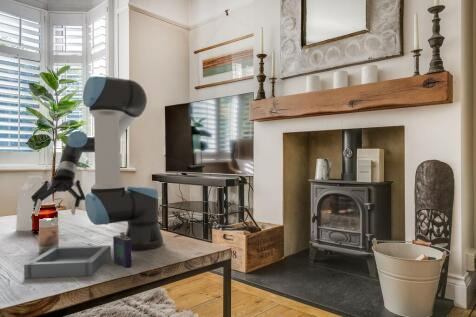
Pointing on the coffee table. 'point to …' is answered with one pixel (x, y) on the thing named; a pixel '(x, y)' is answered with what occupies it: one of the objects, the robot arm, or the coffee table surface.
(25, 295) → the coffee table surface
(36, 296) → the coffee table surface
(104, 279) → the coffee table surface
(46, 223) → the glass with pinkish-brown filling
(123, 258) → the flask
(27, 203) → the milk
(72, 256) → the tray
